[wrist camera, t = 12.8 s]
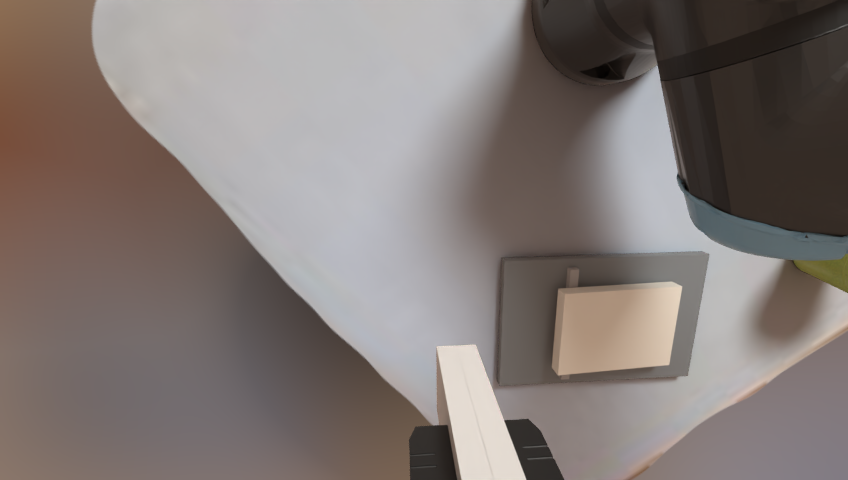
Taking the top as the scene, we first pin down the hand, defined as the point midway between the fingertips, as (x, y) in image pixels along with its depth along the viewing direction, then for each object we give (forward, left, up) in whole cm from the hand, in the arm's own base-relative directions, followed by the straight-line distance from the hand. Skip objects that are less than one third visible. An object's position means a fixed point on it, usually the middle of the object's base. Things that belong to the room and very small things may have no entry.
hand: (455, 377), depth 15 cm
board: (-10, +23, -29) cm, 39 cm away
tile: (-5, +20, -26) cm, 33 cm away
